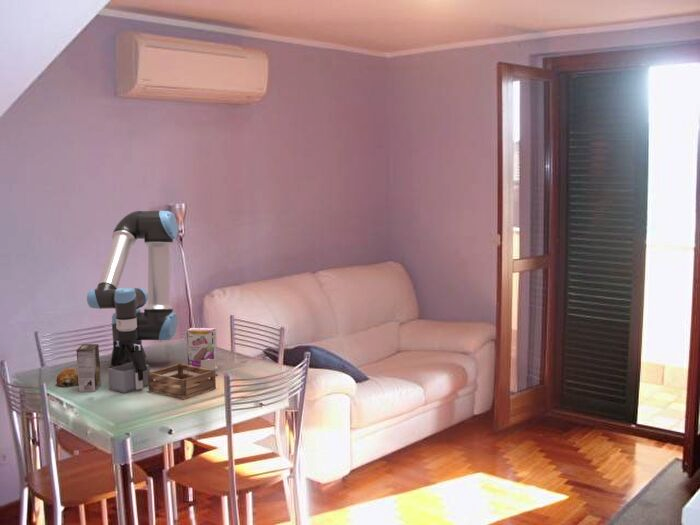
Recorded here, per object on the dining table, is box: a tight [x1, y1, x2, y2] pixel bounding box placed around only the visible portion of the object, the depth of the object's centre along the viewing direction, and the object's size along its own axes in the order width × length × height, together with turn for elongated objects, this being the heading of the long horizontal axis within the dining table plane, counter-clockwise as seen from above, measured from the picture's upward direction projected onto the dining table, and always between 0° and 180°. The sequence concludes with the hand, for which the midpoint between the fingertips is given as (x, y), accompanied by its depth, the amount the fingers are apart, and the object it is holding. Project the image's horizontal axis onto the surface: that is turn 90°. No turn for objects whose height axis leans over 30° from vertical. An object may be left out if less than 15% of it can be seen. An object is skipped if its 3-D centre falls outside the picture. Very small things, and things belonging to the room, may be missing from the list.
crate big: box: [147, 362, 217, 400], centre depth 293 cm, size 19×16×7 cm
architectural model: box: [200, 359, 219, 371], centre depth 311 cm, size 3×7×7 cm, turn 110°
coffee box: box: [76, 343, 102, 393], centre depth 295 cm, size 9×6×16 cm
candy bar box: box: [186, 327, 218, 367], centre depth 322 cm, size 11×5×16 cm, turn 84°
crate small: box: [107, 362, 151, 394], centre depth 296 cm, size 9×12×8 cm
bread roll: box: [56, 367, 79, 388], centre depth 303 cm, size 10×10×8 cm
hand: (129, 386), depth 297 cm, fingers open, 10 cm apart
